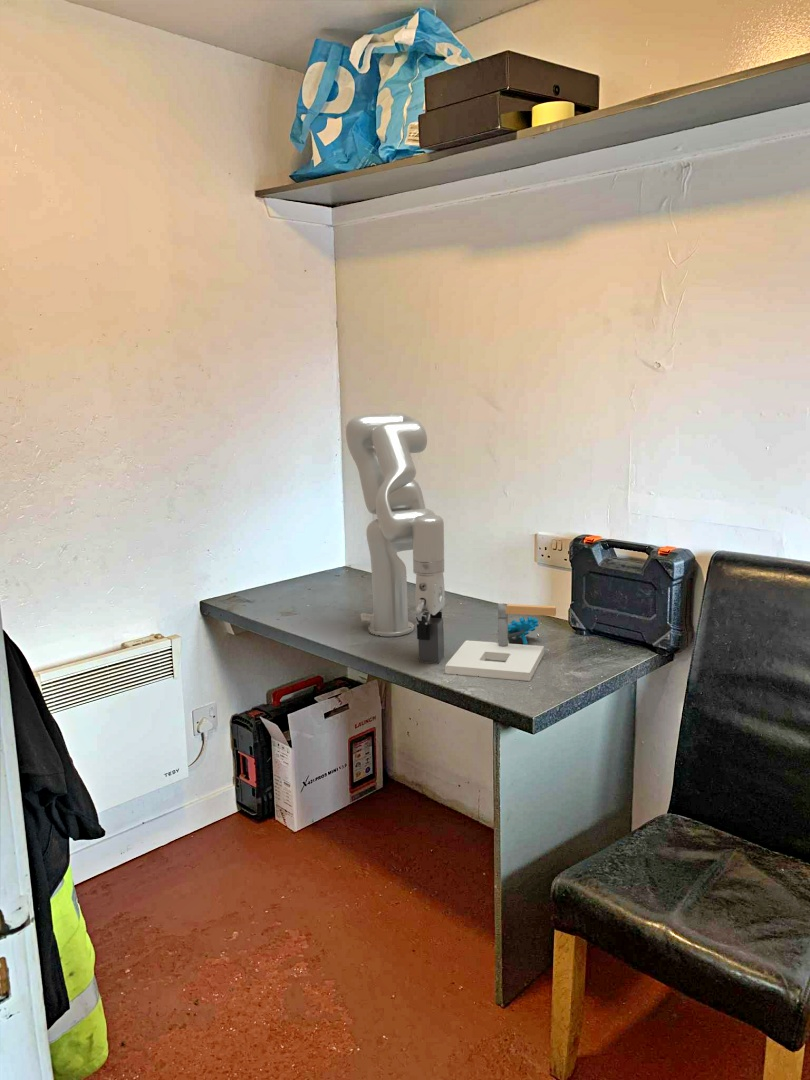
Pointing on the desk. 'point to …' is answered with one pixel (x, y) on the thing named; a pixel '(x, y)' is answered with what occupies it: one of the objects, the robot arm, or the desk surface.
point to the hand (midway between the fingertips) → (429, 632)
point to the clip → (525, 610)
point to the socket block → (496, 658)
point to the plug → (433, 643)
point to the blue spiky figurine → (522, 628)
